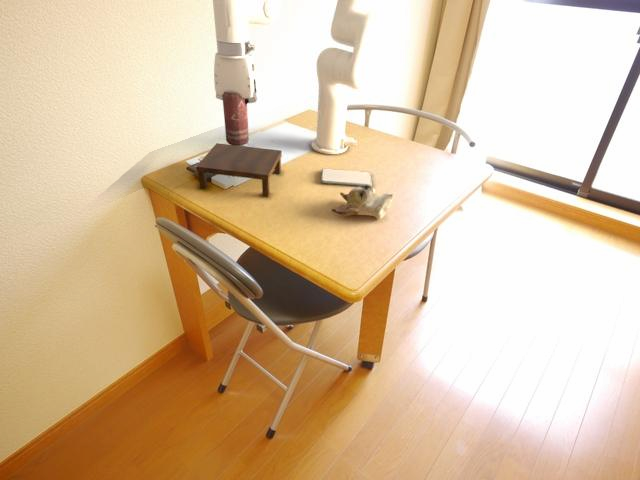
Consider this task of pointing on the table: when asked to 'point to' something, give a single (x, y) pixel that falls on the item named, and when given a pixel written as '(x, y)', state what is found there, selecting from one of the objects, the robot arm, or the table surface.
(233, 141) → the can
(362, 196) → the ceramic sculpture
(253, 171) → the side table
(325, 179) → the smartphone
